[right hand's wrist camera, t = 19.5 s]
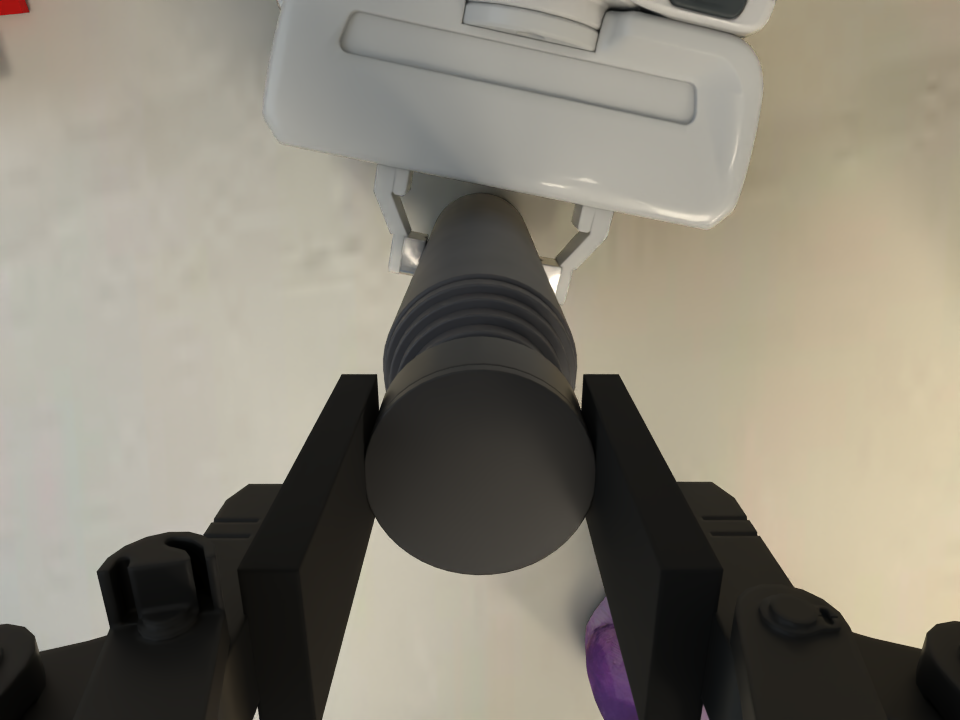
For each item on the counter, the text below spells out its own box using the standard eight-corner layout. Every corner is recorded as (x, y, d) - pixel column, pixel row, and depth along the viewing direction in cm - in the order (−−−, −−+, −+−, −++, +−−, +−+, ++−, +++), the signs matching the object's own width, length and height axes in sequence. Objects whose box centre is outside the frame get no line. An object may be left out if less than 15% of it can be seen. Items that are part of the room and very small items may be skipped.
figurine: (673, 536, 43) (767, 740, 29) (734, 644, 46) (846, 876, 32) (545, 596, 45) (575, 816, 31) (612, 696, 48) (667, 939, 34)
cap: (441, 548, 16) (436, 607, 14) (338, 394, 14) (317, 436, 12) (615, 469, 15) (634, 519, 13) (524, 298, 14) (531, 327, 12)
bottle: (415, 217, 36) (296, 401, 13) (505, 176, 36) (557, 293, 12) (455, 303, 38) (416, 609, 14) (542, 267, 37) (650, 525, 14)
